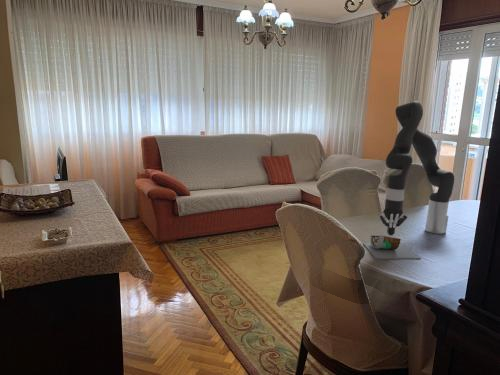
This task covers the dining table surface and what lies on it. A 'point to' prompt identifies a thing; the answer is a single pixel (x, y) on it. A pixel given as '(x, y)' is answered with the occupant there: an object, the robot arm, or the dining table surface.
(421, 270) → the dining table surface
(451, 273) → the dining table surface
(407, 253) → the felt mat
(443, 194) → the robot arm
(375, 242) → the food container
